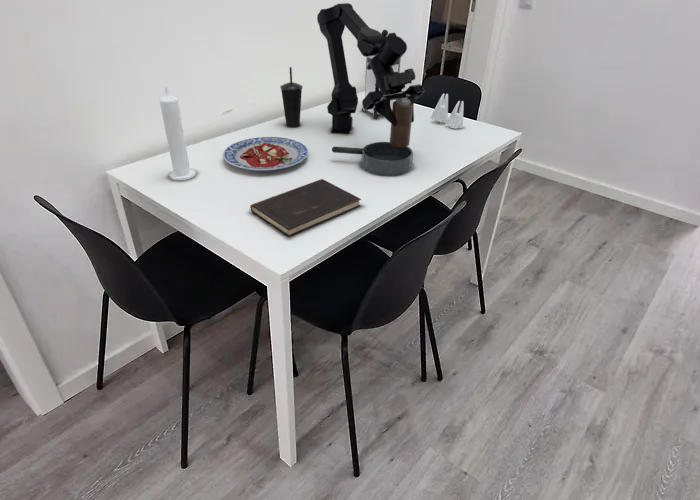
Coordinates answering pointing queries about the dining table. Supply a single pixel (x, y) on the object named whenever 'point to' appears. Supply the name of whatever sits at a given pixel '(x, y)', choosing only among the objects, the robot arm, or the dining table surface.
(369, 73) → the coffee press
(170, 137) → the candle
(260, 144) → the ceramic plate
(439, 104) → the shaker set
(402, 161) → the pan
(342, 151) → the pan handle
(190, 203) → the dining table surface
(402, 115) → the pepper mill
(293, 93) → the drinking cup
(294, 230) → the hardcover book
